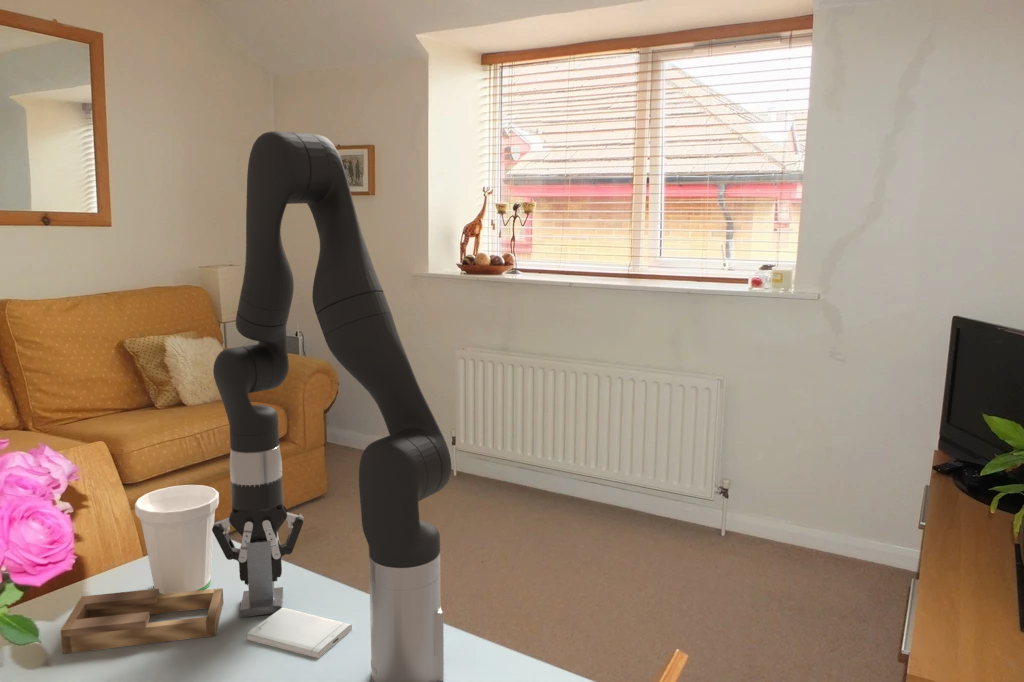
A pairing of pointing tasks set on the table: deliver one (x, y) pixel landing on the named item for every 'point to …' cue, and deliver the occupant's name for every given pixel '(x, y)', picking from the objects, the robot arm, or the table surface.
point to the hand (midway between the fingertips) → (261, 580)
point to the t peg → (260, 581)
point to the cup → (179, 536)
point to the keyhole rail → (138, 619)
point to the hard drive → (299, 632)
